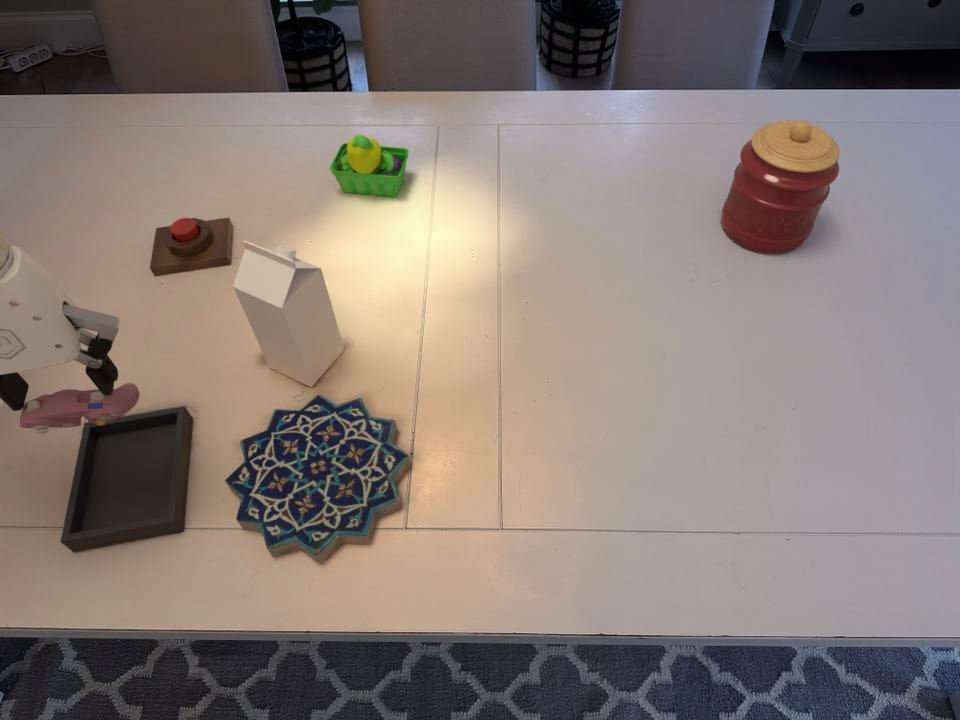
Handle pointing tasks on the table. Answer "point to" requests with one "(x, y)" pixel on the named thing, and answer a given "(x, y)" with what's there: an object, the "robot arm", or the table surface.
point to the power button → (185, 230)
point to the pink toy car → (77, 408)
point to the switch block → (192, 248)
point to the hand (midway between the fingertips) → (66, 390)
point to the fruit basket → (369, 167)
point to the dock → (129, 480)
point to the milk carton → (288, 312)
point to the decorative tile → (319, 477)
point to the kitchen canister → (780, 186)
